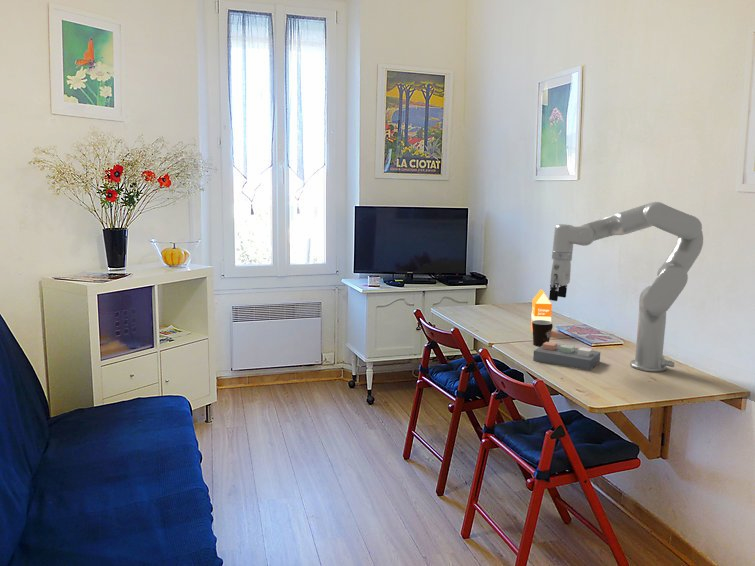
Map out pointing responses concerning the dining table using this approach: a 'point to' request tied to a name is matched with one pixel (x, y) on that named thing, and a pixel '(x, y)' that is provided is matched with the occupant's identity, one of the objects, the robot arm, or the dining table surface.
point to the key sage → (567, 349)
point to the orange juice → (541, 307)
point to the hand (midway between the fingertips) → (557, 298)
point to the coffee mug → (541, 331)
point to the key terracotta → (549, 346)
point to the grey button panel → (567, 358)
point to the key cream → (585, 352)
